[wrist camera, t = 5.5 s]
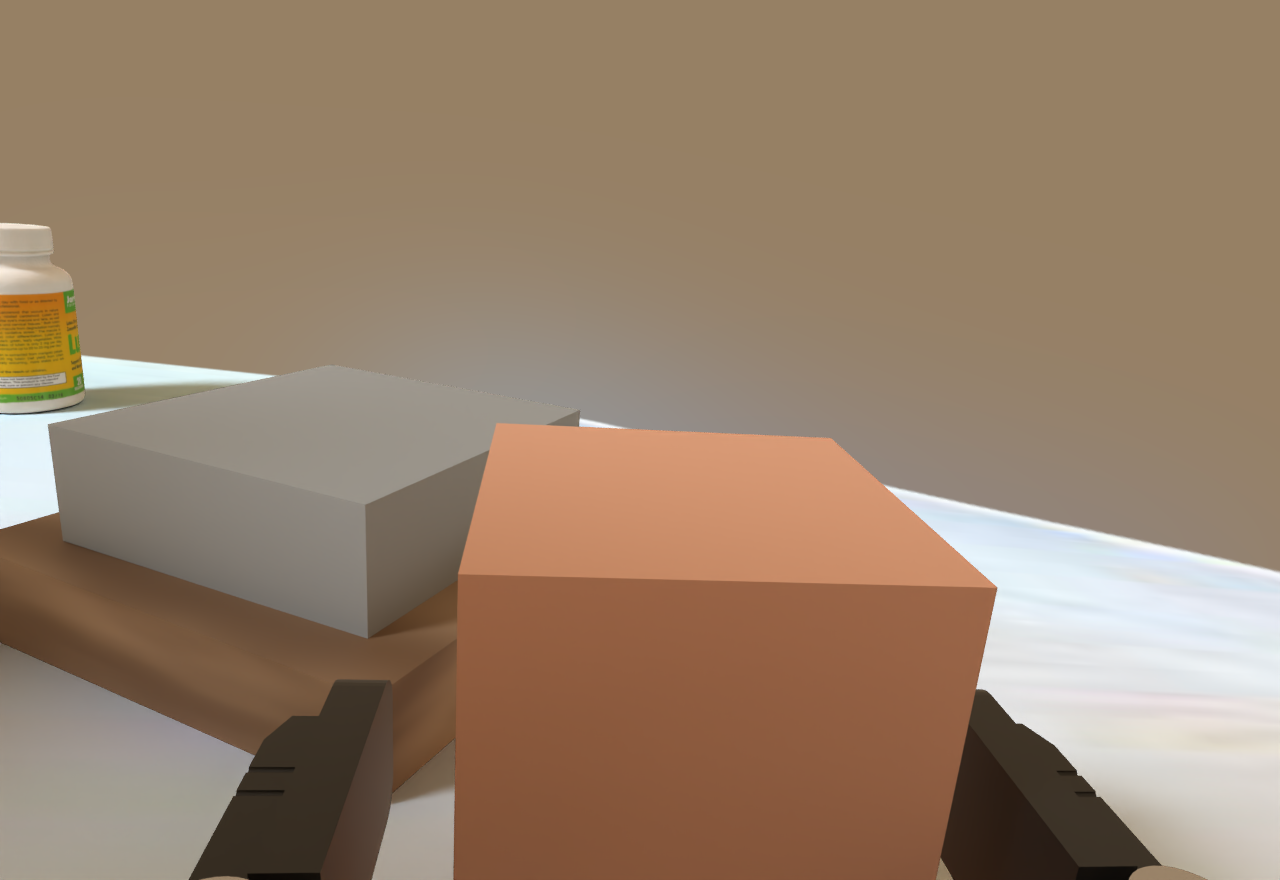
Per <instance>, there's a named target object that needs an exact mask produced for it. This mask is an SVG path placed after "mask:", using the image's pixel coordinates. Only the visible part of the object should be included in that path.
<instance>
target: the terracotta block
mask: <svg viewBox="0 0 1280 880" xmlns="http://www.w3.org/2000/svg"><path fill="white" fill-rule="evenodd" d="M996 592H997V587H996V586H995V585H994V584H993V583H992V582H990V581H989V580H988V579H987V578H986V577H985V576H984V575H983V574H982V573H980V572H979V571H978V570H977V569H976V568H975V567H974V566H973V565H972V564H970V563H969V562H968V561H967V560H966V559H965V558H964V557H963V556H962V555H960V554H959V553H958V552H957V551H956V550H955V549H954V548H953V547H952V546H950V545H949V544H948V543H947V542H946V541H945V540H944V539H943V538H941V537H940V536H939V535H938V534H937V533H936V532H935V531H934V530H933V529H931V528H930V527H929V526H928V525H927V524H926V523H925V522H924V521H923V520H921V519H920V518H919V517H918V516H917V515H916V514H915V513H914V512H913V511H911V510H910V509H909V508H908V507H907V506H906V505H905V504H904V503H903V502H901V501H900V500H899V499H898V498H897V497H896V496H895V495H894V494H893V493H891V492H890V491H889V490H888V489H887V488H886V487H885V486H884V485H883V484H881V483H880V482H879V481H878V480H877V479H876V478H875V477H873V476H872V475H871V474H870V473H869V472H868V471H867V470H866V469H865V468H864V467H862V466H861V465H860V464H859V463H858V462H857V461H856V460H855V459H853V458H852V457H851V456H850V455H849V454H848V453H847V452H846V451H845V450H844V449H842V448H841V447H840V446H839V445H838V444H837V443H836V442H835V441H833V440H832V439H831V438H816V437H793V436H771V435H749V434H727V433H705V432H704V433H703V432H683V431H661V430H639V429H617V428H595V427H573V426H551V425H529V424H507V423H496V427H495V431H494V435H493V439H492V443H491V447H490V450H489V454H488V458H487V462H486V466H485V470H484V474H483V478H482V482H481V486H480V490H479V494H478V498H477V501H476V505H475V509H474V513H473V517H472V521H471V525H470V529H469V533H468V537H467V541H466V545H465V548H464V552H463V556H462V560H461V564H460V568H459V572H458V604H457V674H456V743H455V812H454V880H936V876H937V871H938V866H939V861H940V857H941V852H942V847H943V842H944V838H945V833H946V828H947V824H948V819H949V814H950V809H951V805H952V800H953V795H954V790H955V786H956V781H957V776H958V772H959V767H960V762H961V757H962V753H963V748H964V743H965V738H966V734H967V729H968V724H969V719H970V715H971V710H972V705H973V701H974V696H975V691H976V686H977V682H978V677H979V672H980V667H981V663H982V658H983V653H984V649H985V644H986V639H987V634H988V630H989V625H990V620H991V615H992V611H993V606H994V601H995V597H996Z"/></svg>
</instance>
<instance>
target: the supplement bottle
mask: <svg viewBox="0 0 1280 880" xmlns="http://www.w3.org/2000/svg"><path fill="white" fill-rule="evenodd" d="M52 249H53V240H52V234H51V229H50V228H49V227H46V226H38V225H27V224H10V223H0V413H33V412H42V411H49V410H55V409H60V408H65V407H68V406H72V405H75V404H77V403H79V402H81V401H82V400H83V399H84V397H85V387H84V378H83V370H82V361H81V352H80V344H79V336H78V327H77V317H76V309H75V299H74V291H73V284H72V280H71V277H70V275H69V274H68V273H67V272H66V271H65V270H63V269H62V268H60V267H57V266H54V265H52V264H51V262H50V259H49V254H52V253H54V251H53V250H52Z"/></svg>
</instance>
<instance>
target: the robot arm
mask: <svg viewBox="0 0 1280 880" xmlns="http://www.w3.org/2000/svg"><path fill="white" fill-rule="evenodd" d="M392 786H393V693H392V684H391V681H390V680H352V679H337V680H336V681H335V682H334V684H333V686H332V688H331V690H330V692H329V694H328V697H327V699H326V701H325V703H324V705H323V708H322V710H321V712H320V714H319V716H291V717H290V718H289V719H288V720H287V721H285V722H284V723H283V724H282V725H281V726H279V727H278V728H277V729H276V730H275V731H273V732H272V733H271V734H270V735H268V736H267V737H266V738H265V739H264V740H263V742H262V744H261V746H260V748H259V749H258V751H257V753H256V755H255V757H254V759H253V761H252V762H251V764H250V766H249V771H248V773H246V774H245V776H244V777H243V779H242V781H241V783H240V785H239V787H238V789H237V793H236V796H233V798H232V800H231V802H230V804H229V805H228V807H227V809H226V811H225V813H224V815H223V817H222V819H221V820H220V822H219V824H218V826H217V828H216V830H215V832H214V833H213V835H212V837H211V839H210V841H209V843H208V845H207V847H206V848H205V850H204V852H203V854H202V856H201V858H200V860H199V861H198V863H197V865H196V867H195V869H194V871H193V873H192V875H191V876H190V878H189V880H371V879H372V876H373V872H374V868H375V865H376V861H377V857H378V853H379V850H380V846H381V842H382V839H383V835H384V831H385V828H386V824H387V820H388V815H389V810H390V804H391V796H392ZM941 858H942V860H943V862H944V864H945V865H946V867H947V869H948V871H949V872H950V874H951V876H952V878H953V879H954V880H1207V879H1205V878H1202V877H1200V876H1198V875H1196V874H1193V873H1190V872H1187V871H1184V870H1181V869H1177V868H1173V867H1166V866H1162V865H1161V864H1160V863H1159V862H1158V861H1157V860H1156V859H1155V858H1154V856H1153V855H1152V854H1151V853H1150V852H1149V851H1148V850H1147V849H1146V847H1145V846H1144V845H1143V844H1142V843H1141V842H1140V841H1139V840H1138V838H1137V837H1136V836H1135V835H1134V834H1133V833H1132V832H1131V831H1130V830H1129V828H1128V827H1127V826H1126V825H1125V824H1124V823H1123V822H1122V821H1121V819H1120V818H1119V817H1118V816H1117V815H1116V814H1115V813H1114V812H1113V811H1112V809H1111V808H1110V807H1109V806H1108V805H1107V804H1106V803H1105V802H1104V800H1103V799H1102V798H1101V797H1096V794H1095V790H1094V789H1093V788H1092V787H1091V786H1090V785H1089V784H1088V783H1087V781H1086V780H1085V779H1084V778H1083V777H1082V776H1078V775H1077V770H1076V769H1075V768H1074V767H1073V766H1072V765H1071V764H1070V762H1069V761H1068V760H1067V759H1066V758H1065V757H1064V756H1063V755H1062V753H1061V752H1060V751H1059V750H1058V749H1057V748H1056V747H1055V746H1054V745H1053V744H1051V743H1050V742H1048V741H1047V740H1045V739H1044V738H1042V737H1041V736H1039V735H1038V734H1037V733H1035V732H1034V731H1032V730H1031V729H1029V728H1028V727H1026V726H1025V725H1023V724H1016V723H1015V722H1014V721H1013V720H1012V719H1011V718H1010V716H1009V715H1008V714H1007V713H1006V712H1005V711H1004V709H1003V708H1002V707H1001V706H1000V705H999V704H998V702H997V701H996V700H995V699H994V698H993V697H992V695H991V694H990V693H988V692H987V691H985V690H982V689H976V691H975V696H974V701H973V705H972V710H971V715H970V719H969V724H968V729H967V734H966V738H965V743H964V748H963V753H962V757H961V762H960V767H959V772H958V776H957V781H956V786H955V790H954V795H953V800H952V805H951V809H950V814H949V819H948V824H947V828H946V833H945V838H944V842H943V847H942V852H941Z"/></svg>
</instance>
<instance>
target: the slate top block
mask: <svg viewBox="0 0 1280 880" xmlns="http://www.w3.org/2000/svg"><path fill="white" fill-rule="evenodd" d="M579 419H580V410H578V409H572V408H566V407H561V406H556V405H550V404H545V403H539V402H534V401H528V400H523V399H517V398H511V397H506V396H501V395H495V394H490V393H484V392H479V391H473V390H468V389H463V388H457V387H452V386H446V385H441V384H434V383H430V382H424V381H419V380H413V379H408V378H402V377H397V376H391V375H386V374H380V373H375V372H369V371H364V370H358V369H353V368H347V367H342V366H336V365H328V366H323V367H318V368H313V369H309V370H303V371H299V372H294V373H289V374H285V375H280V376H275V377H270V378H266V379H261V380H256V381H251V382H247V383H242V384H237V385H232V386H228V387H223V388H218V389H214V390H209V391H204V392H199V393H195V394H190V395H185V396H180V397H176V398H171V399H166V400H161V401H157V402H152V403H147V404H143V405H138V406H133V407H128V408H124V409H119V410H114V411H109V412H105V413H100V414H95V415H90V416H86V417H81V418H76V419H72V420H67V421H62V422H57V423H53V424H48V429H49V437H50V445H51V452H52V460H53V468H54V476H55V483H56V491H57V499H58V506H59V514H60V522H61V530H62V537H63V541H66V542H69V543H72V544H75V545H78V546H81V547H84V548H87V549H90V550H93V551H96V552H100V553H103V554H106V555H109V556H112V557H115V558H118V559H121V560H124V561H127V562H130V563H134V564H137V565H140V566H143V567H146V568H149V569H152V570H155V571H158V572H161V573H164V574H168V575H171V576H174V577H177V578H180V579H183V580H186V581H189V582H192V583H195V584H198V585H202V586H205V587H208V588H211V589H214V590H217V591H220V592H223V593H226V594H229V595H232V596H236V597H239V598H242V599H245V600H248V601H251V602H254V603H257V604H260V605H264V606H267V607H270V608H273V609H276V610H279V611H282V612H286V613H289V614H292V615H295V616H298V617H301V618H304V619H308V620H311V621H314V622H317V623H320V624H323V625H326V626H329V627H333V628H336V629H339V630H342V631H345V632H348V633H351V634H355V635H358V636H361V637H364V638H367V639H368V638H370V637H371V636H373V635H374V634H376V633H377V632H379V631H380V630H382V629H383V628H385V627H387V626H388V625H390V624H391V623H393V622H394V621H396V620H397V619H399V618H400V617H402V616H403V615H405V614H406V613H408V612H410V611H411V610H413V609H414V608H416V607H417V606H419V605H420V604H422V603H423V602H425V601H426V600H428V599H429V598H431V597H433V596H434V595H436V594H437V593H439V592H440V591H442V590H443V589H445V588H446V587H448V586H449V585H451V584H452V583H454V582H455V581H457V580H458V572H459V568H460V564H461V560H462V556H463V552H464V548H465V545H466V541H467V537H468V533H469V529H470V525H471V521H472V517H473V513H474V509H475V505H476V501H477V498H478V494H479V490H480V486H481V482H482V478H483V474H484V470H485V466H486V462H487V458H488V454H489V450H490V447H491V443H492V439H493V435H494V431H495V427H496V423H507V424H529V425H551V426H573V427H579Z"/></svg>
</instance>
